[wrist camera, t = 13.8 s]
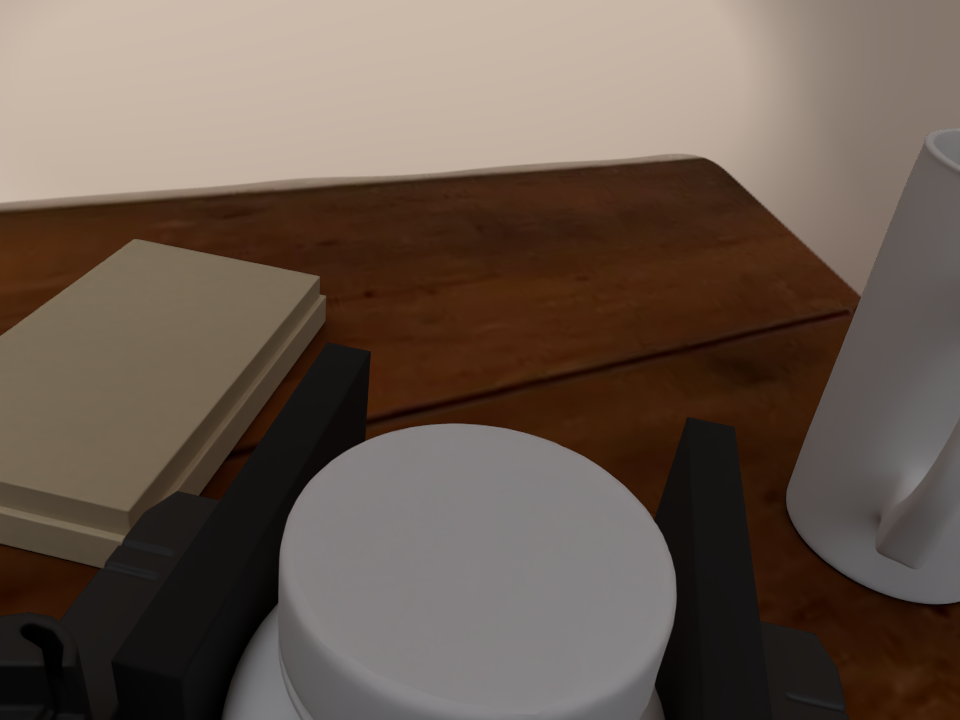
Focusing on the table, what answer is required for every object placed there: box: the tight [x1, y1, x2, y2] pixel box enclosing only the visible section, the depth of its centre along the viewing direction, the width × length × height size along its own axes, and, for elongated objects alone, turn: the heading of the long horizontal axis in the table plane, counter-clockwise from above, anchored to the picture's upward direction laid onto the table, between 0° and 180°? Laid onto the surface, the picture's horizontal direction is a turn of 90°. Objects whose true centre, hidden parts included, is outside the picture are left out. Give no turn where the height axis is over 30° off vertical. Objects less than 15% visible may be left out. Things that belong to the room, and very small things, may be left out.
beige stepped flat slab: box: [0, 239, 326, 568], centre depth 27 cm, size 8×14×2 cm, turn 169°
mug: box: [786, 128, 960, 604], centre depth 22 cm, size 10×7×12 cm, turn 148°
